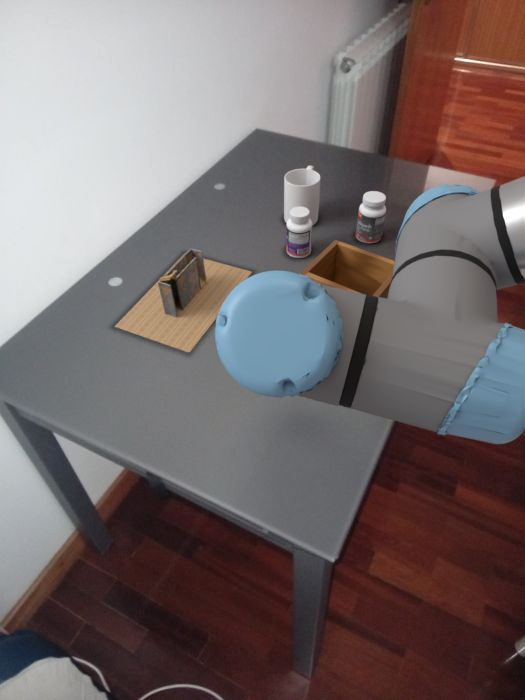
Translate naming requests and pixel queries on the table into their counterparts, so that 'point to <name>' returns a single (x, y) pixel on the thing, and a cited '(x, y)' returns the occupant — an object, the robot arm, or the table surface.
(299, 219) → the pill bottle
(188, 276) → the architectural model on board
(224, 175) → the table surface
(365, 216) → the pill bottle
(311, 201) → the mug
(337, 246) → the crate
